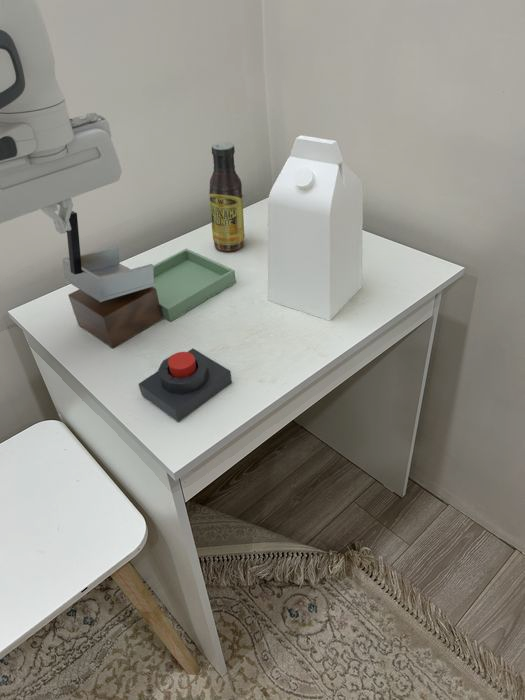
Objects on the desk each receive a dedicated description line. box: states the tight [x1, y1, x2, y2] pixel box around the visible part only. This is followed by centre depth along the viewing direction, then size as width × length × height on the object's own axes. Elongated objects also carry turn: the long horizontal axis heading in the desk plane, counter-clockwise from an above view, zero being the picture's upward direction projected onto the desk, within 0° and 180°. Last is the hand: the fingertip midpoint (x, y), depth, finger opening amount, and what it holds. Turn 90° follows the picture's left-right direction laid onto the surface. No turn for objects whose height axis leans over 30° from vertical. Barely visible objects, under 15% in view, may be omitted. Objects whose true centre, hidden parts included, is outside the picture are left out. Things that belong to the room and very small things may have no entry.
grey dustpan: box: [62, 210, 155, 302], centre depth 82 cm, size 11×10×12 cm
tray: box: [153, 248, 237, 322], centre depth 97 cm, size 15×13×2 cm
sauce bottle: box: [208, 141, 245, 252], centre depth 102 cm, size 7×6×20 cm
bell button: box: [168, 351, 196, 378], centre depth 74 cm, size 4×4×2 cm
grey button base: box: [138, 348, 233, 423], centre depth 75 cm, size 10×8×4 cm
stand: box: [67, 287, 163, 349], centre depth 88 cm, size 10×10×6 cm
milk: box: [267, 135, 364, 322], centre depth 85 cm, size 12×12×26 cm
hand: (64, 231), depth 76 cm, fingers closed, pressing on grey dustpan
